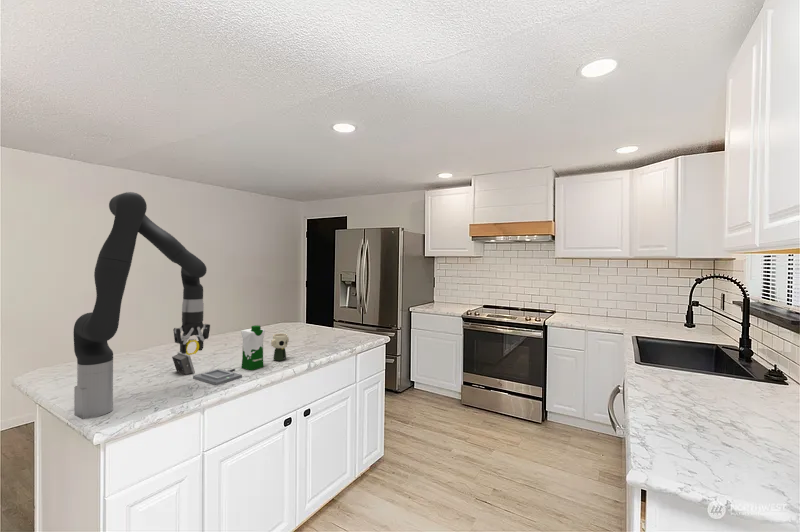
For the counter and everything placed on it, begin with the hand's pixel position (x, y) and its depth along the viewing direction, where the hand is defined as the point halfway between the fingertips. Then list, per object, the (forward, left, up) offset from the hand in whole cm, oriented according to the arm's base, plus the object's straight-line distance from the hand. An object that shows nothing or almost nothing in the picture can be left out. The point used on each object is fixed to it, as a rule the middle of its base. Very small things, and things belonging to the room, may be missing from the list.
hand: (191, 351), depth 148 cm
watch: (0, 0, -1) cm, 1 cm away
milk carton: (+30, +1, -14) cm, 33 cm away
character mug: (+46, 0, -14) cm, 48 cm away
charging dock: (+15, +1, -14) cm, 20 cm away
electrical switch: (+8, +19, -14) cm, 25 cm away
